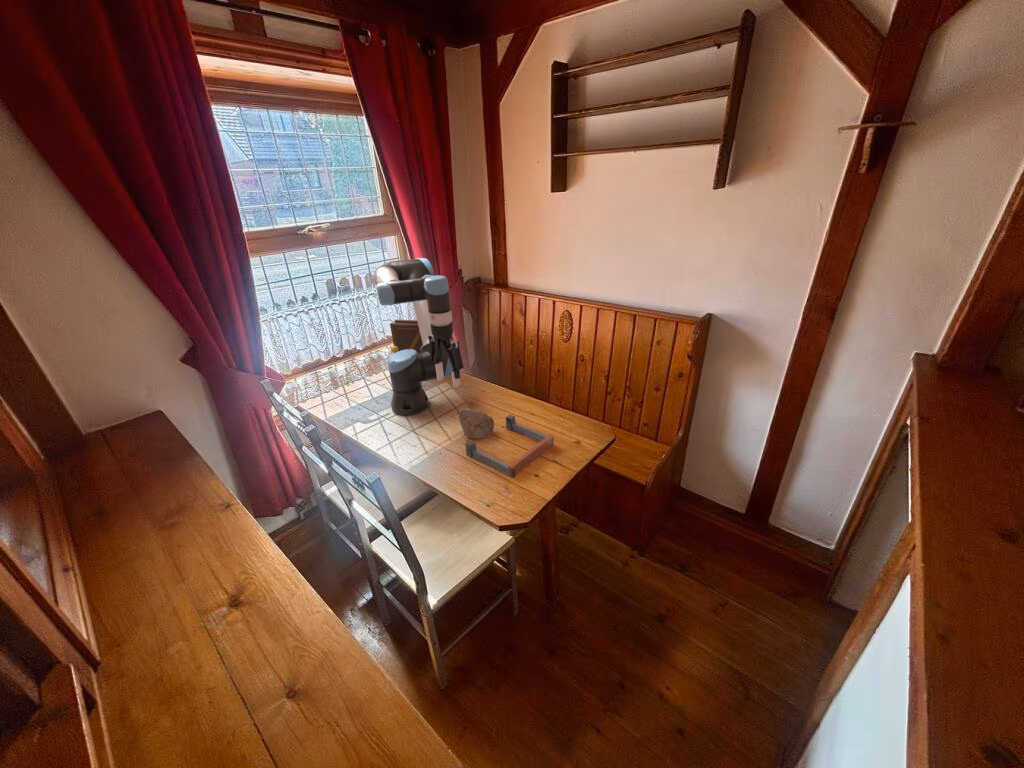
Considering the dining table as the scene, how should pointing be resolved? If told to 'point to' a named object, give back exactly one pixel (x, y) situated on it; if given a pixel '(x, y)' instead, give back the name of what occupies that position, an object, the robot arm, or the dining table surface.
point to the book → (405, 336)
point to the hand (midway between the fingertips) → (448, 382)
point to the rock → (475, 423)
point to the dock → (523, 460)
